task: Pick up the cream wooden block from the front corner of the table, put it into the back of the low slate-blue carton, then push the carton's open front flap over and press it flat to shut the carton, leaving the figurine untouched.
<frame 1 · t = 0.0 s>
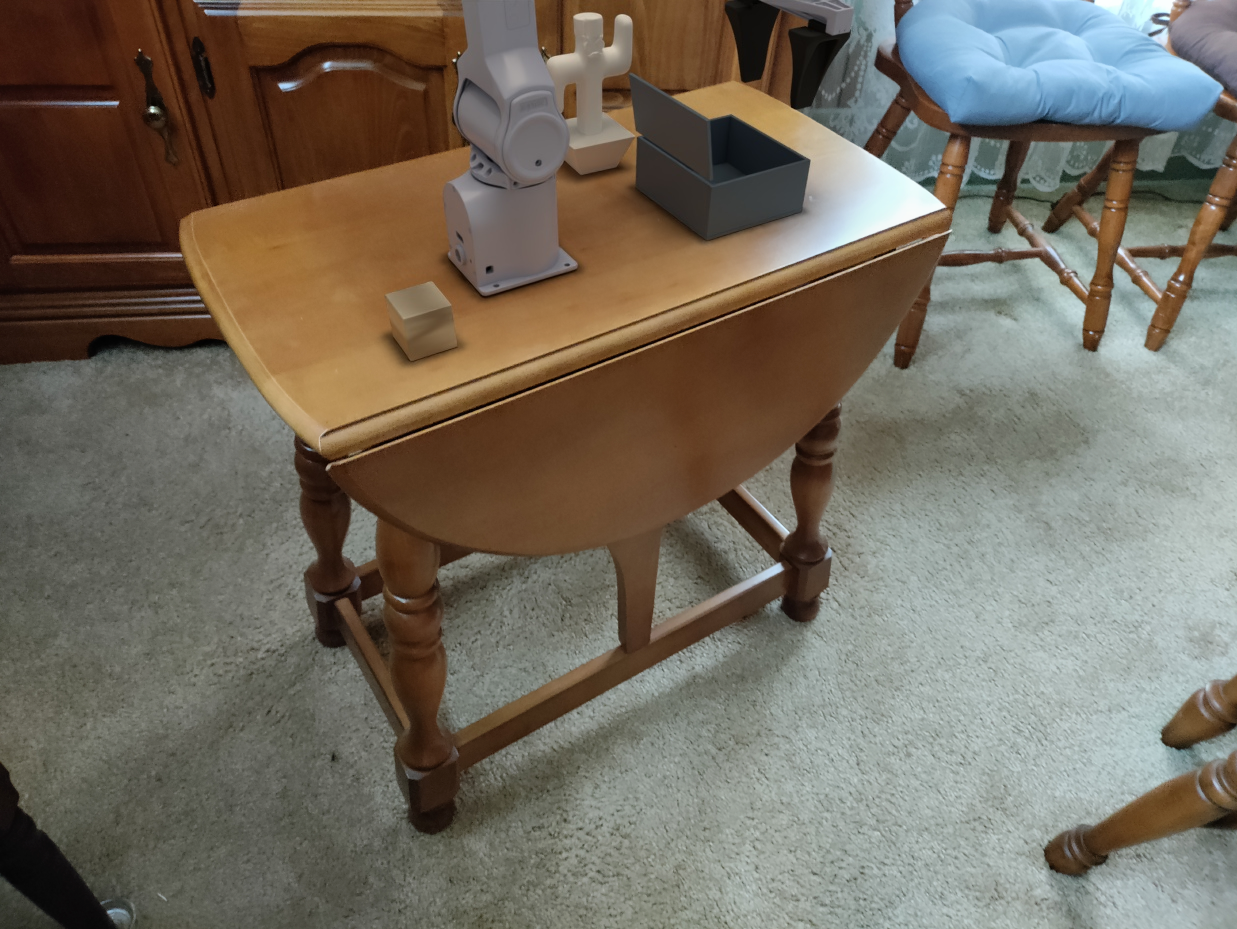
hand: (775, 93, 83), 10 cm above the table, tool pointing down, fingers open, 7 cm apart
flap: (670, 125, 80), point 9 cm above the table, hinge at 100.0°
carton: (717, 199, 88), on the table
block: (425, 341, 70), on the table
figurine: (589, 164, 94), on the table
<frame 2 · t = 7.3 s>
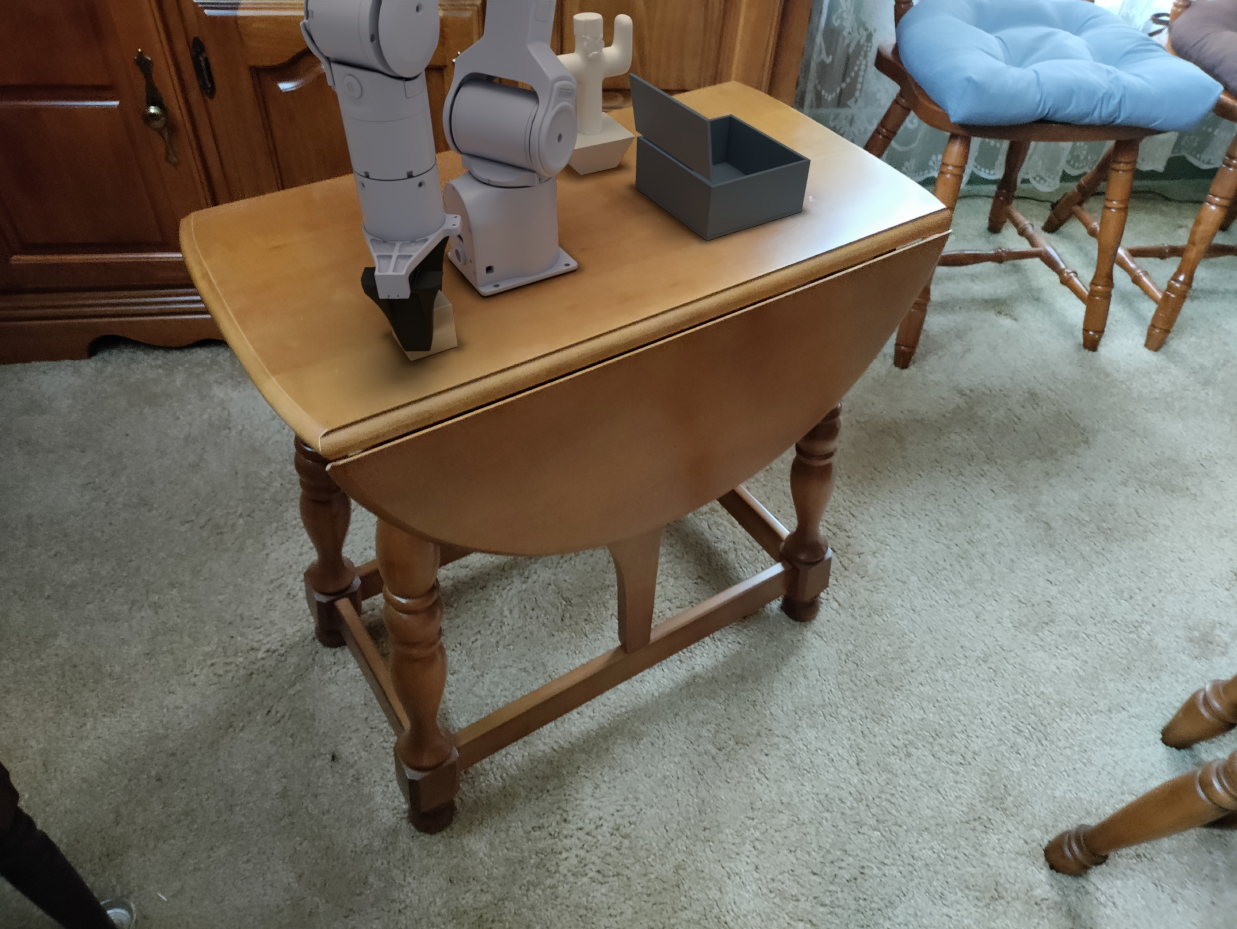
hand: (422, 327, 69), 1 cm above the table, tool pointing down, fingers closed on block, 5 cm apart
block: (425, 341, 70), on the table, touching gripper
everything else where it was.
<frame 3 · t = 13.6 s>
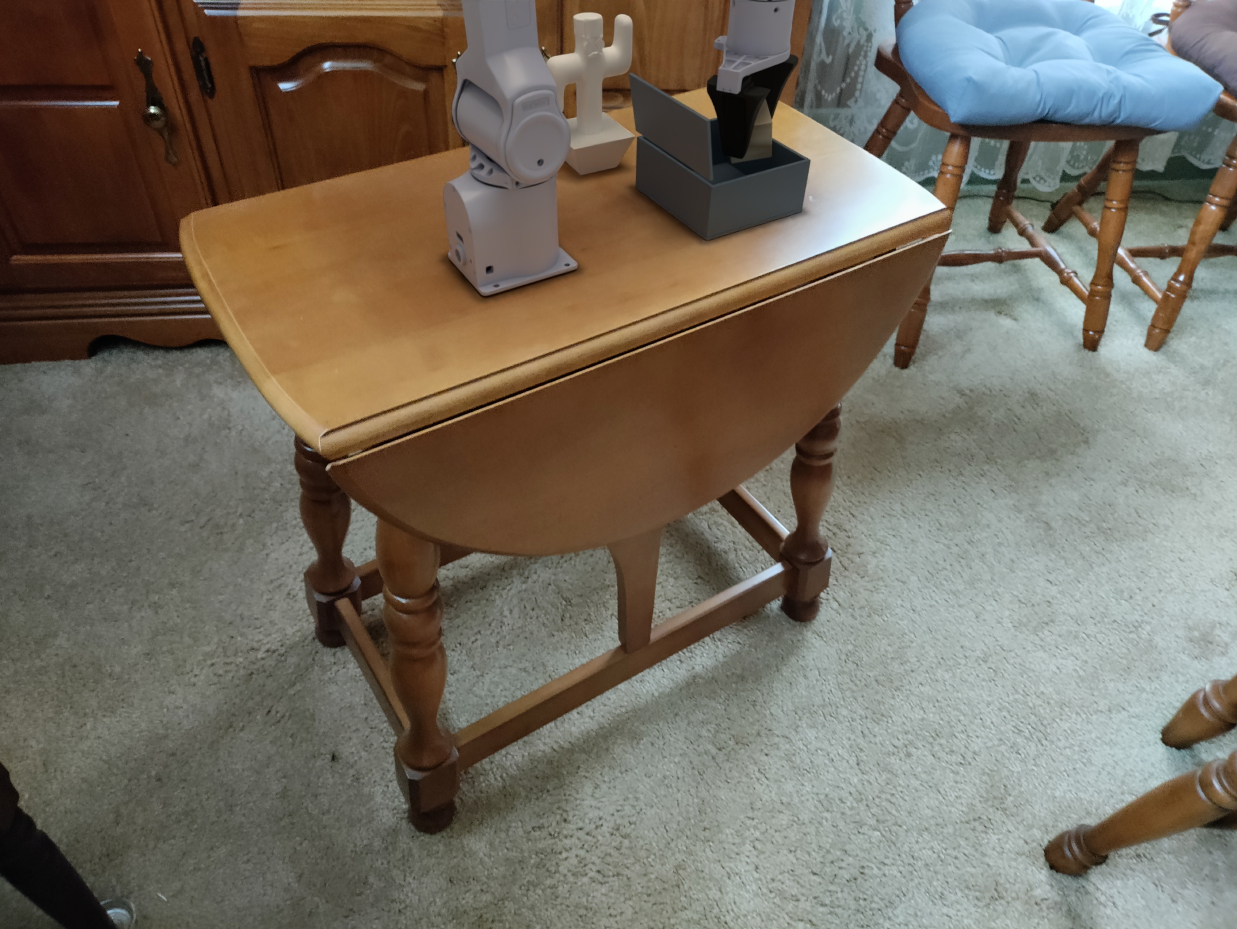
hand: (745, 143, 86), 5 cm above the table, tool pointing down, fingers closed on block, 6 cm apart
block: (748, 147, 86), point 5 cm above the table, tilted 16°, touching carton, gripper
everything else where it was.
when the fingers open (5 cm above the table, at t = 15.3 s): block drops 2 cm and tips over, point 3 cm above the table.
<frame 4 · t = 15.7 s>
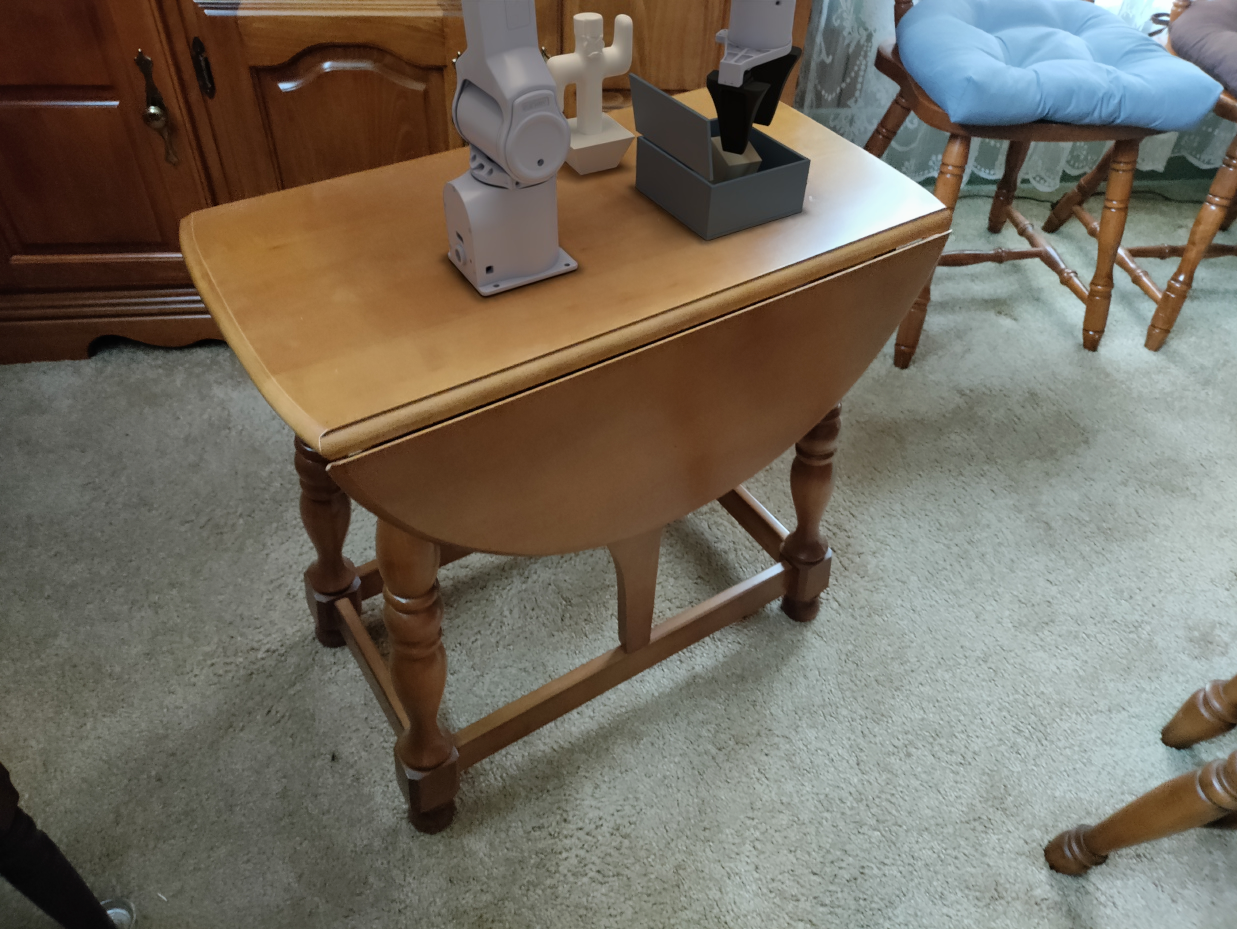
hand: (747, 137, 85), 6 cm above the table, tool pointing down, fingers open, 7 cm apart
block: (746, 162, 88), point 3 cm above the table, tilted 87°
everything else where it was.
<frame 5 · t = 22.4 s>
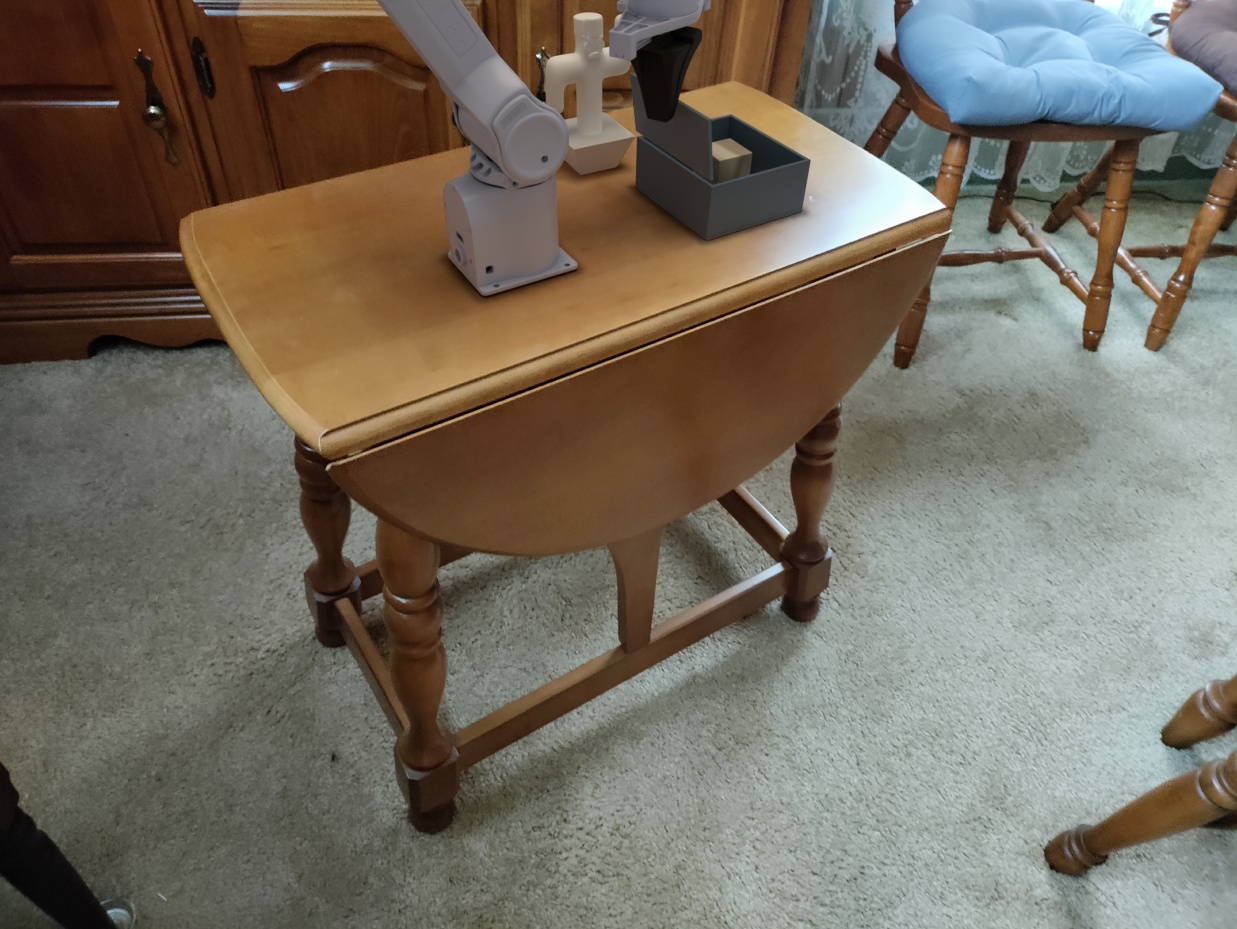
hand: (660, 118, 77), 10 cm above the table, tool pointing down, fingers closed
flap: (670, 125, 80), point 9 cm above the table, hinge at 98.5°
block: (739, 164, 89), point 2 cm above the table, tilted 90°, touching carton
everything else where it was.
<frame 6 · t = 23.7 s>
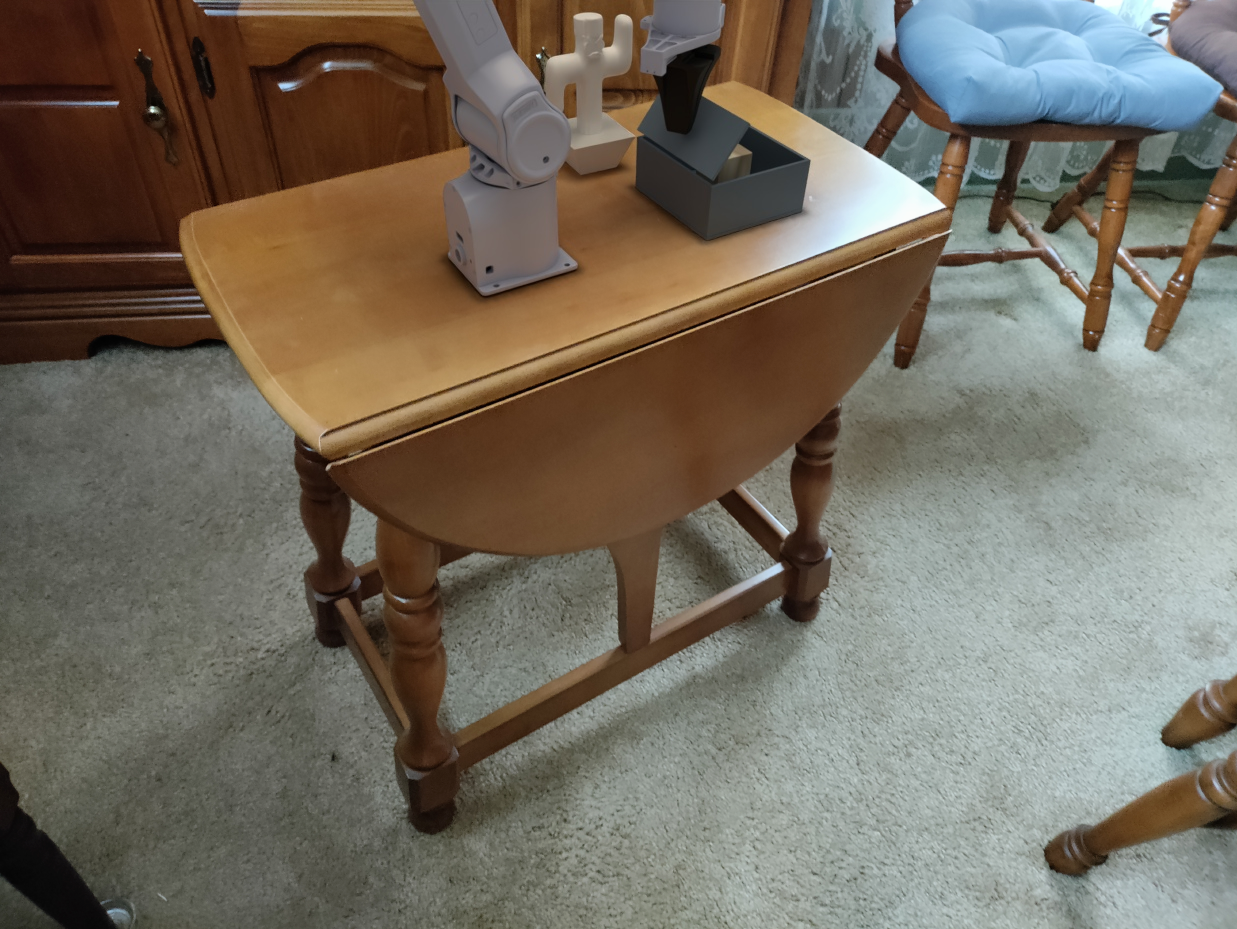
hand: (678, 130, 80), 8 cm above the table, tool pointing down, fingers closed
flap: (690, 127, 81), point 8 cm above the table, hinge at 51.2°, touching gripper
everything else where it was.
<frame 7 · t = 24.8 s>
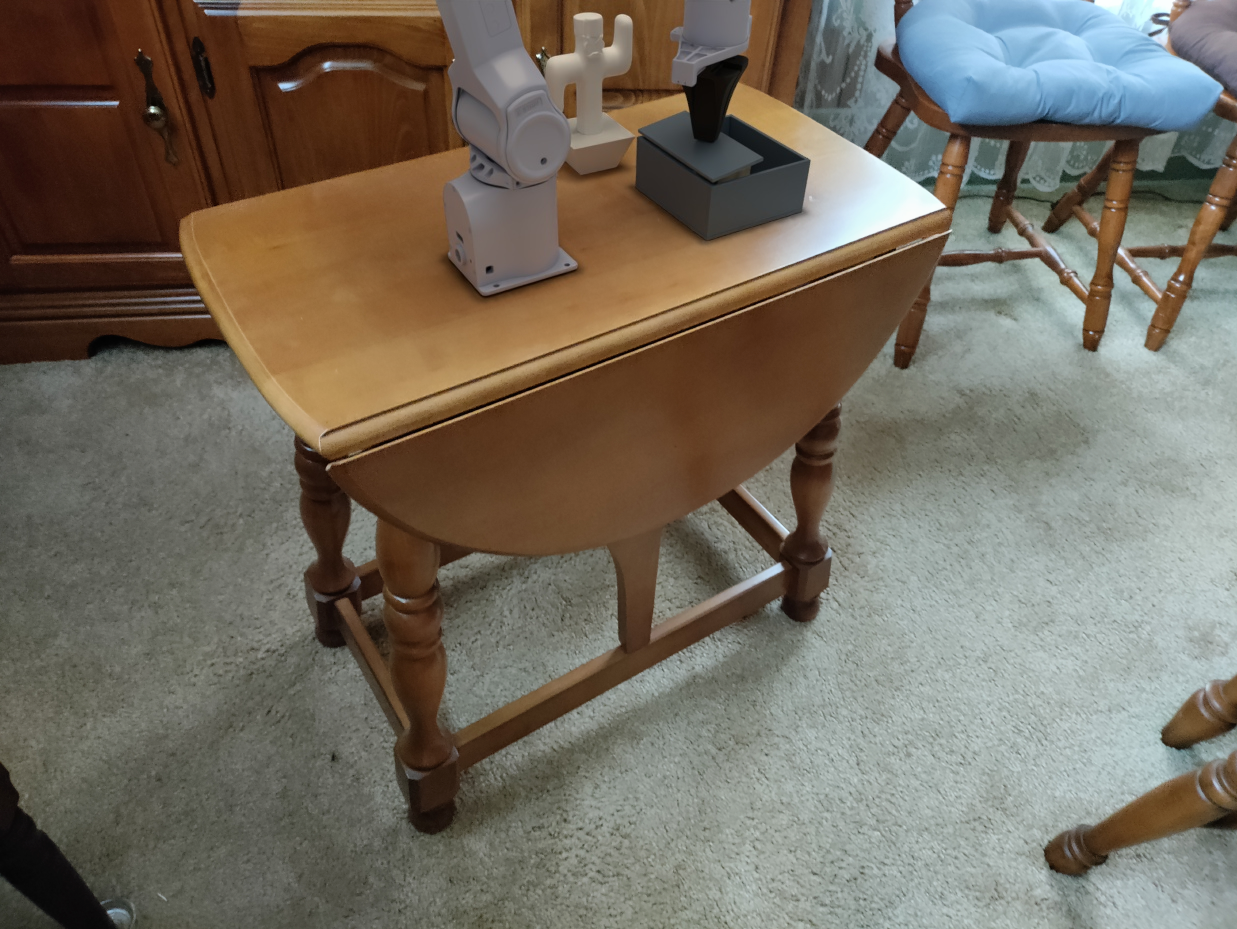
hand: (705, 138, 83), 7 cm above the table, tool pointing down, fingers closed, pressing on flap
flap: (698, 144, 83), point 6 cm above the table, hinge at 8.0°, touching gripper
everything else where it was.
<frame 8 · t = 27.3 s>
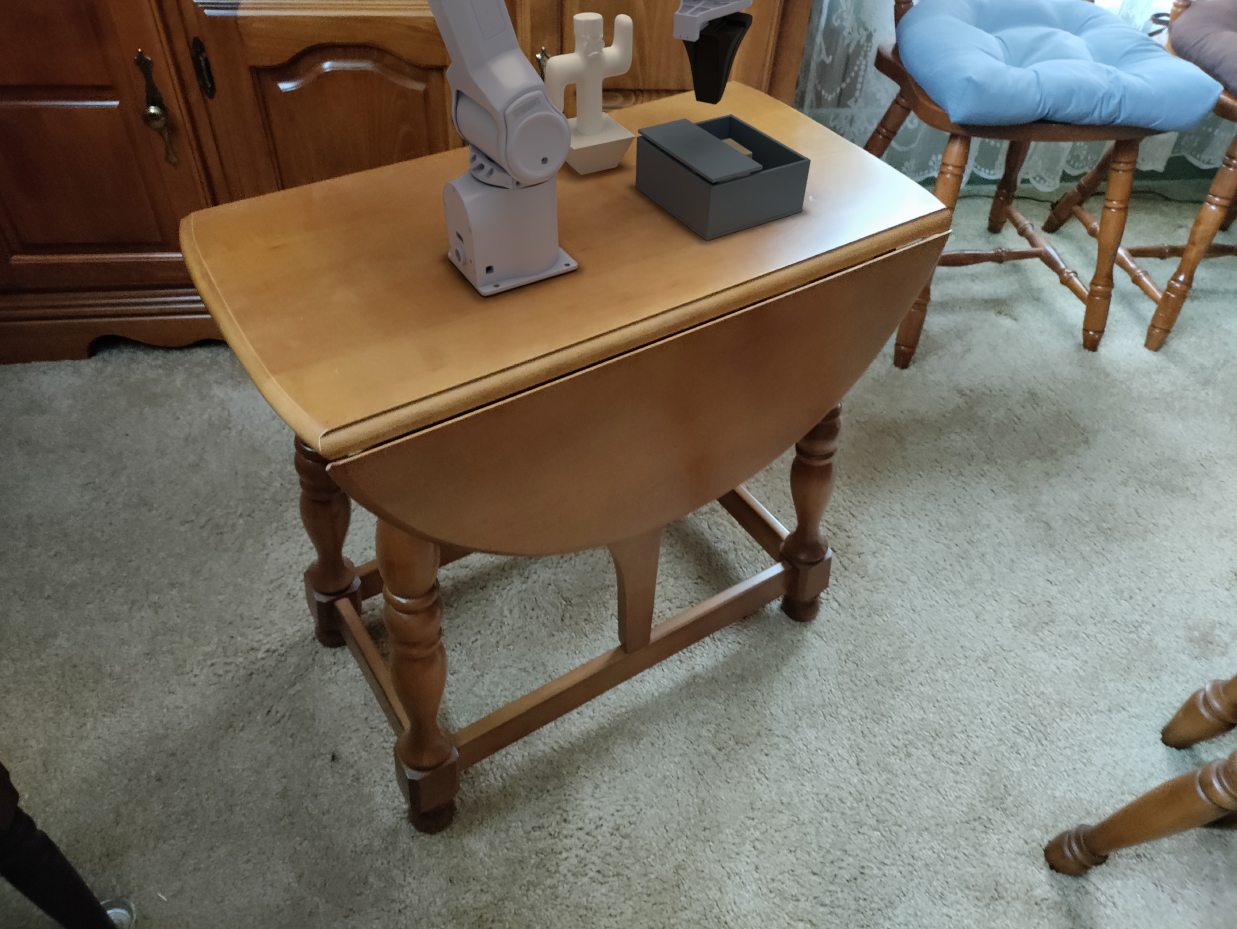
hand: (708, 100, 80), 10 cm above the table, tool pointing down, fingers closed
flap: (698, 148, 83), point 6 cm above the table, hinge at -0.2°
everything else where it was.
at the end: block inside the target area in the carton (3.9 cm from its centre), point 2.4 cm above the carton's base; flap at +0° (first picture: +100°); figurine moved 0.2 cm from its start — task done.
